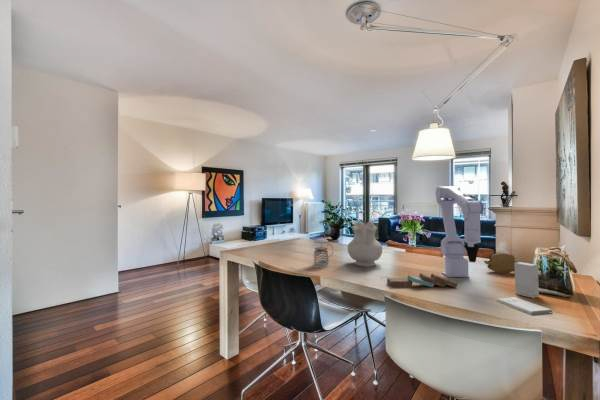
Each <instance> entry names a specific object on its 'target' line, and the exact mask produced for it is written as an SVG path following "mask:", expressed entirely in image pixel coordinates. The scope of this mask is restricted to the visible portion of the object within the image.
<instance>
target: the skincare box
mask: <svg viewBox="0 0 600 400" xmlns="http://www.w3.org/2000/svg"><path fill="white" fill-rule="evenodd" d="M516 262H517V263H514V267H515V272H514V285H515V286H514V288H515V295H519V296H522V297H523V296H524V297H527V298H530V297H531V298H532V299H536V298H535V297H537V298H539V296H540V294H539V292H540V289H539V268H538V267H539V266H538V264H534V263H529V262H521V261H516Z"/></svg>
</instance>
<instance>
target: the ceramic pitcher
mask: <svg viewBox="0 0 600 400" xmlns="http://www.w3.org/2000/svg"><path fill="white" fill-rule="evenodd" d="M374 223H375V222H373V221H370V220H368V221H367V222H360V221H357V222H356V223H355V224H354V225H352V226H351V229H352V231H353V233H354V234H353V235H354V237H353V239H352V240H351V241H350V242H348V244H347V252H348V255H349V256H350V259H352V260H353V261H355V263H353V264H354V265H356V266H358V267H367V268H368V267H369V268H370V267H374V266H376V261H378V260H379V259H380V258H381V257H382V254H383V245H382V244H381V242H379V241H378V240H377V239H376V233H377V232H376V231H377V230H378V226H376V225H375V224H374Z"/></svg>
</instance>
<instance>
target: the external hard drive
mask: <svg viewBox="0 0 600 400" xmlns="http://www.w3.org/2000/svg"><path fill="white" fill-rule="evenodd" d="M498 301H499V303H500V302H501V303H500V304H503V303H504V304H503V305H505V304H506V305H505V306H509V307H510V306H511V308H513V309H515V308H516V310H518V311H520V310H521V312H523V313H525V312H526V314H528V313H529V314H528V315H530V314H531V316H534V315H543V314H542V313H545V314H551V313H550V312H552V313H553V309H550V308H548V307H544V306H541V305H539V304H536V303H532V302H530V301H528V300H524V299H521V298H519V297H516V296H513V297H501V298H500V297H499V298H497V299H496V302H498Z"/></svg>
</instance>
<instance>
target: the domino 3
mask: <svg viewBox="0 0 600 400" xmlns="http://www.w3.org/2000/svg"><path fill="white" fill-rule="evenodd" d="M406 278H407V279H409V280H411V281H412V283H415V284H418V285H423V286H425V287H430V288H433V287H434V286H435V284H433V283H431V282H428V281H425V280H423V279H421V278H420V277H417V276H414V275H407V277H406Z"/></svg>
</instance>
